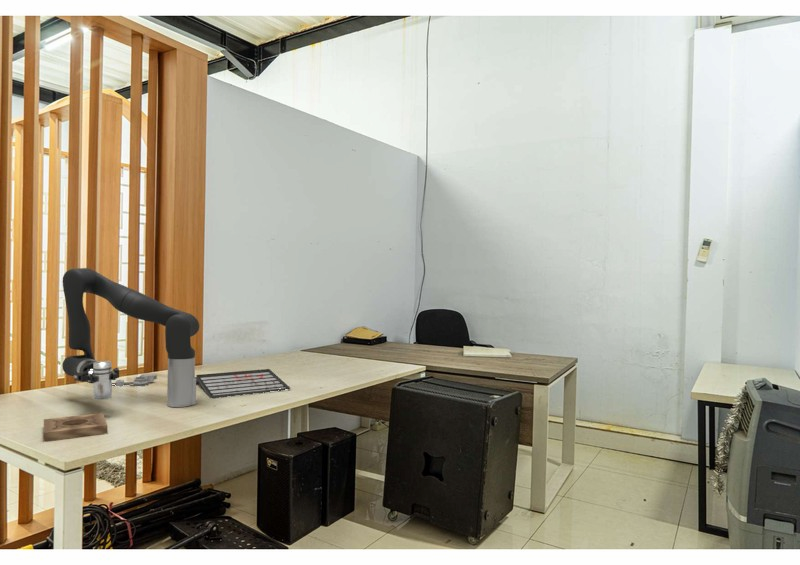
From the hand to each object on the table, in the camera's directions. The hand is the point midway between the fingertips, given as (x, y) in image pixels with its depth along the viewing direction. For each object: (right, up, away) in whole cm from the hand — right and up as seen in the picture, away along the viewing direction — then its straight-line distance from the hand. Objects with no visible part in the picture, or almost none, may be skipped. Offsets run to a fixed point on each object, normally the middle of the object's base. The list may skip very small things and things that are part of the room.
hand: (104, 378), depth 178 cm
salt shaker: (-2, -7, +2) cm, 7 cm away
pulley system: (-17, -13, +53) cm, 57 cm away
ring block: (-2, -14, -13) cm, 19 cm away
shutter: (+29, -14, +53) cm, 62 cm away
